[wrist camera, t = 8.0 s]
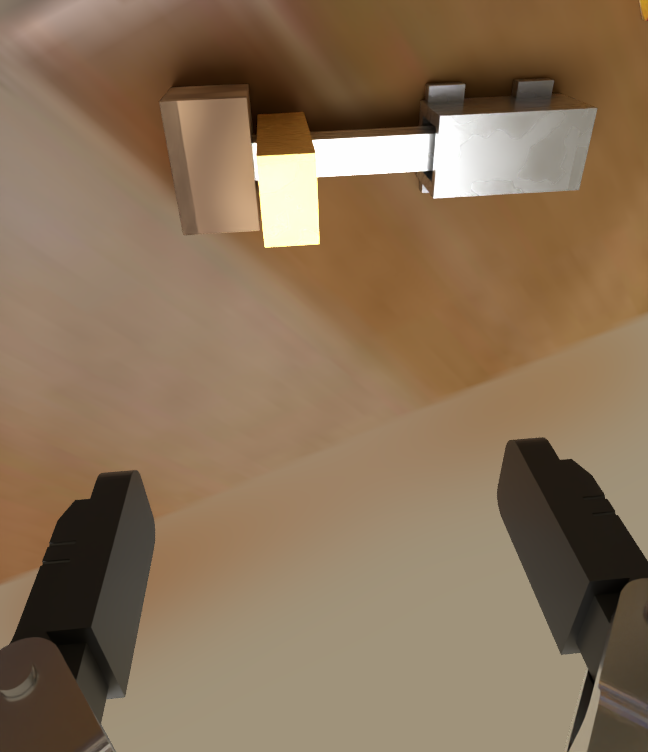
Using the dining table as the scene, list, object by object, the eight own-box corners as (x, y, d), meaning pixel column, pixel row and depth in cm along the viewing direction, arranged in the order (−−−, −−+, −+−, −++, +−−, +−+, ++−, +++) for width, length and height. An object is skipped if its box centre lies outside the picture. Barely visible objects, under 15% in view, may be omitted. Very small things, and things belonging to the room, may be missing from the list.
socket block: (248, 83, 37) (246, 97, 33) (259, 204, 42) (259, 230, 38) (171, 87, 37) (159, 101, 33) (191, 208, 42) (183, 235, 37)
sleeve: (563, 77, 39) (601, 90, 34) (544, 181, 43) (575, 204, 39) (421, 83, 38) (441, 97, 34) (414, 188, 42) (432, 213, 38)
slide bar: (461, 104, 38) (520, 142, 29) (454, 177, 41) (506, 232, 32) (218, 116, 37) (205, 159, 28) (228, 190, 40) (218, 250, 31)
